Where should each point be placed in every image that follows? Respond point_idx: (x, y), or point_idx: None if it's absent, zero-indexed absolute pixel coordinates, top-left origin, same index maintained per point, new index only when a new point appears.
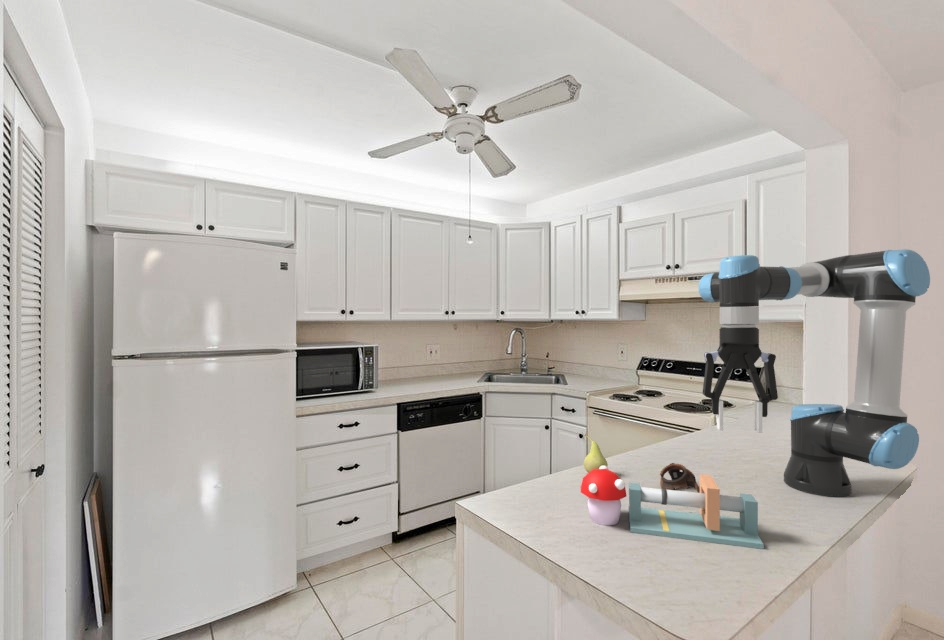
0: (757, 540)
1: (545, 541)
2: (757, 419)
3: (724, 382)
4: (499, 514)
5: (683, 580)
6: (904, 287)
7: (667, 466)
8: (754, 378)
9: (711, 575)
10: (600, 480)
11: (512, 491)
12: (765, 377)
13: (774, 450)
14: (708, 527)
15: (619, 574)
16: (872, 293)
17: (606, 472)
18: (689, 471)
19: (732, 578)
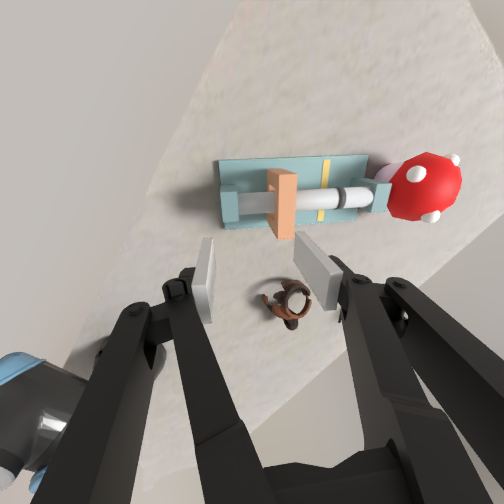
0: (223, 169)
1: (477, 87)
2: (211, 260)
3: (371, 334)
4: None
5: (332, 25)
6: None
7: (304, 313)
8: (215, 384)
9: (294, 55)
10: (449, 168)
11: (478, 226)
12: (142, 436)
13: (164, 429)
14: (280, 168)
15: (408, 14)
16: None
17: (442, 186)
18: (279, 308)
19: (270, 55)
